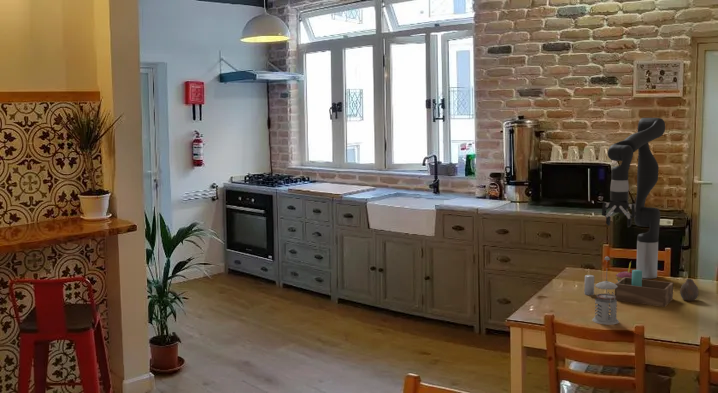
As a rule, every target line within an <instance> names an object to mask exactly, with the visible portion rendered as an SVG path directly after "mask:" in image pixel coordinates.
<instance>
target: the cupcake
mask: <svg viewBox="0 0 718 393" xmlns="http://www.w3.org/2000/svg"><path fill="white" fill-rule="evenodd" d="M631 265H632V261H630V262H629V265H628V269H627V271H619V272H618V273H616V274H615V279H616V280H617V282H618V281H620V280H621V279H622V278H624V277H629V278H632V271H631V272H630V270H631Z"/></svg>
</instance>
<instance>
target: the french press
mask: <svg viewBox="0 0 718 393" xmlns="http://www.w3.org/2000/svg"><path fill="white" fill-rule="evenodd" d="M604 261H610V257H609V256H605V257H604ZM605 271H606V274H605V275H606V276H605V278H606V280H604V281H603V280H602V281H600V282H598V283H596V284H594V287H595V288H598V289H601V290H605V293H598V294H596V298H595V299H594V300H595V301H594V304H595V306H594V308H595V309H594V317H593V318H592V319H591V321H592V322H594V323H596V324H599V325H600V324H601V325H609V326H610V325H616V324H619V323H620V321H619V319H618V318H617V315H618V314H617V312H618V311H617V310H618V308H617V306H618V302H617V301H618V300H616V299H615V298H616V296H615V292H612V293H611V294H610V292H609V291H607V290H615V289H616V288H617V287H618V286H617V285H616V284H615V283H614V282H611V281H608V269H606V270H605Z"/></svg>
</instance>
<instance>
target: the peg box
mask: <svg viewBox="0 0 718 393" xmlns="http://www.w3.org/2000/svg"><path fill="white" fill-rule="evenodd" d="M614 284H616V285H617V286H618V287H617V288H616V289H614V295H615V296H616V298H615V299H616V300H617V301H620V302H626V303H627V302H629V303H636V304H643V305H648V306H654V307H655V306H657V307H664V308H666V306H668V304H670V303H671V301H673V299H674V297H673V296H674V282H670V281H669V282H668V281H660V280H654V279H653V280H652V279H647V278H642V287H641V286H633V285H632V278H629V277H624V278H622V279H621V280H620V281H618V280H617V281H616V282H615V283H614Z"/></svg>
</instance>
